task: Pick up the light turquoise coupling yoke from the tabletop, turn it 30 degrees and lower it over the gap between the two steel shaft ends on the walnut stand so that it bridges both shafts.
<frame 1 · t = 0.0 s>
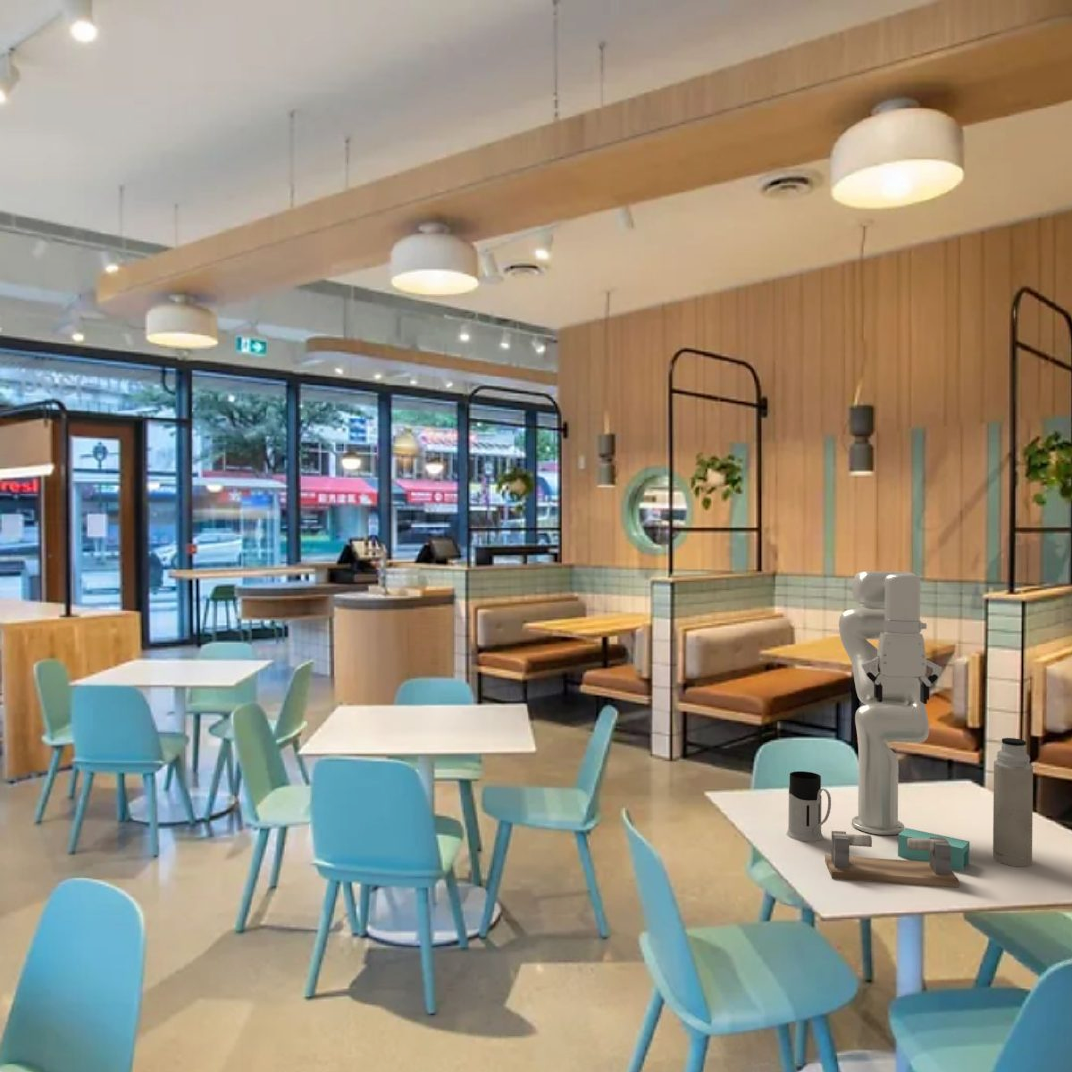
hand: (901, 702, 203), 37 cm above the table, tool pointing down, fingers open, 9 cm apart
shaft stand: (889, 873, 196), on the table
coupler: (933, 860, 205), on the table
glass holder: (811, 839, 218), on the table
thermos bottle: (1012, 861, 205), on the table
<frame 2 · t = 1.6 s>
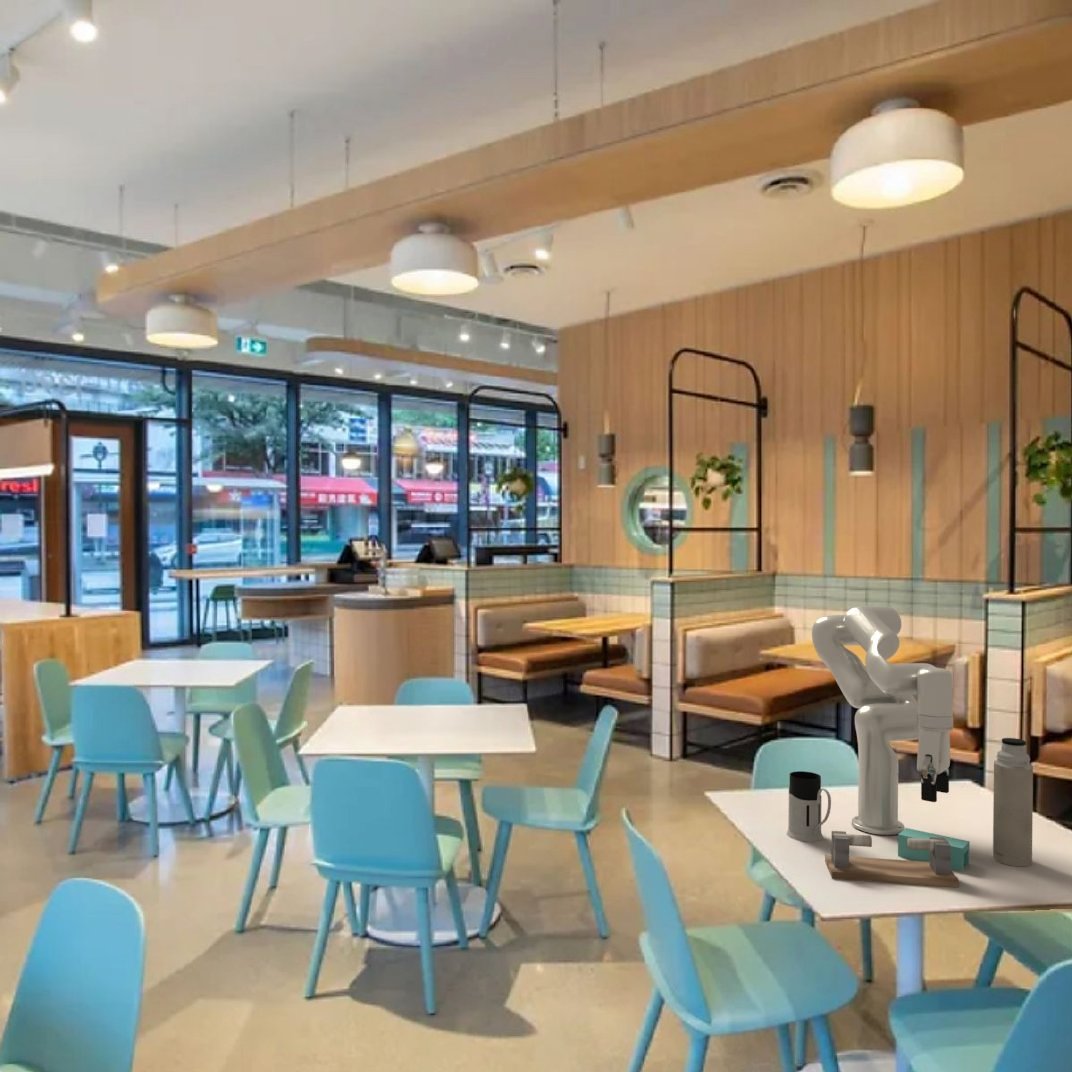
hand: (935, 796, 204), 15 cm above the table, tool pointing down, fingers open, 9 cm apart
nothing on the table moved.
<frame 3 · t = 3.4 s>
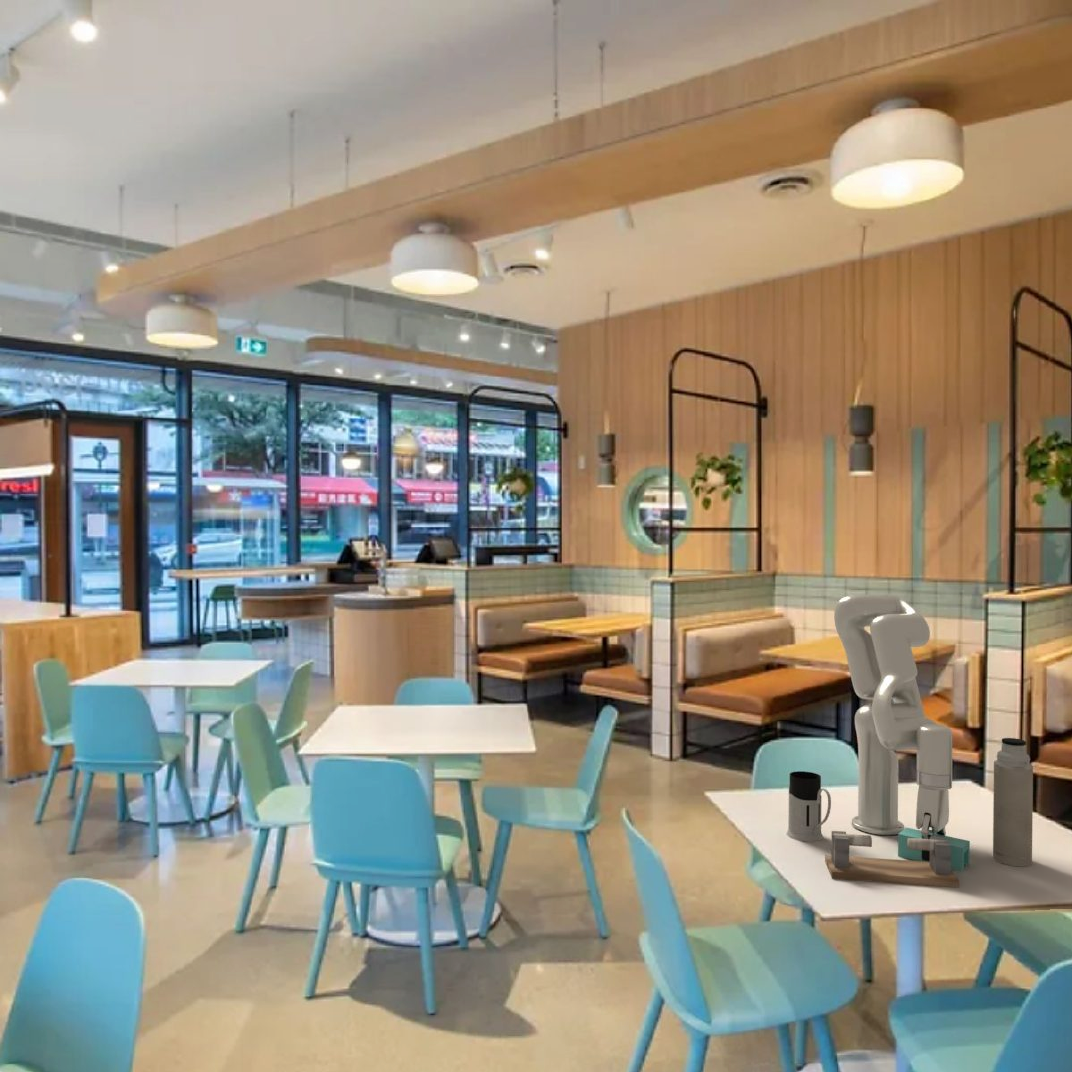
hand: (933, 856, 205), 1 cm above the table, tool pointing down, fingers closed on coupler, 6 cm apart
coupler: (933, 859, 205), on the table, touching gripper
everything else where it was.
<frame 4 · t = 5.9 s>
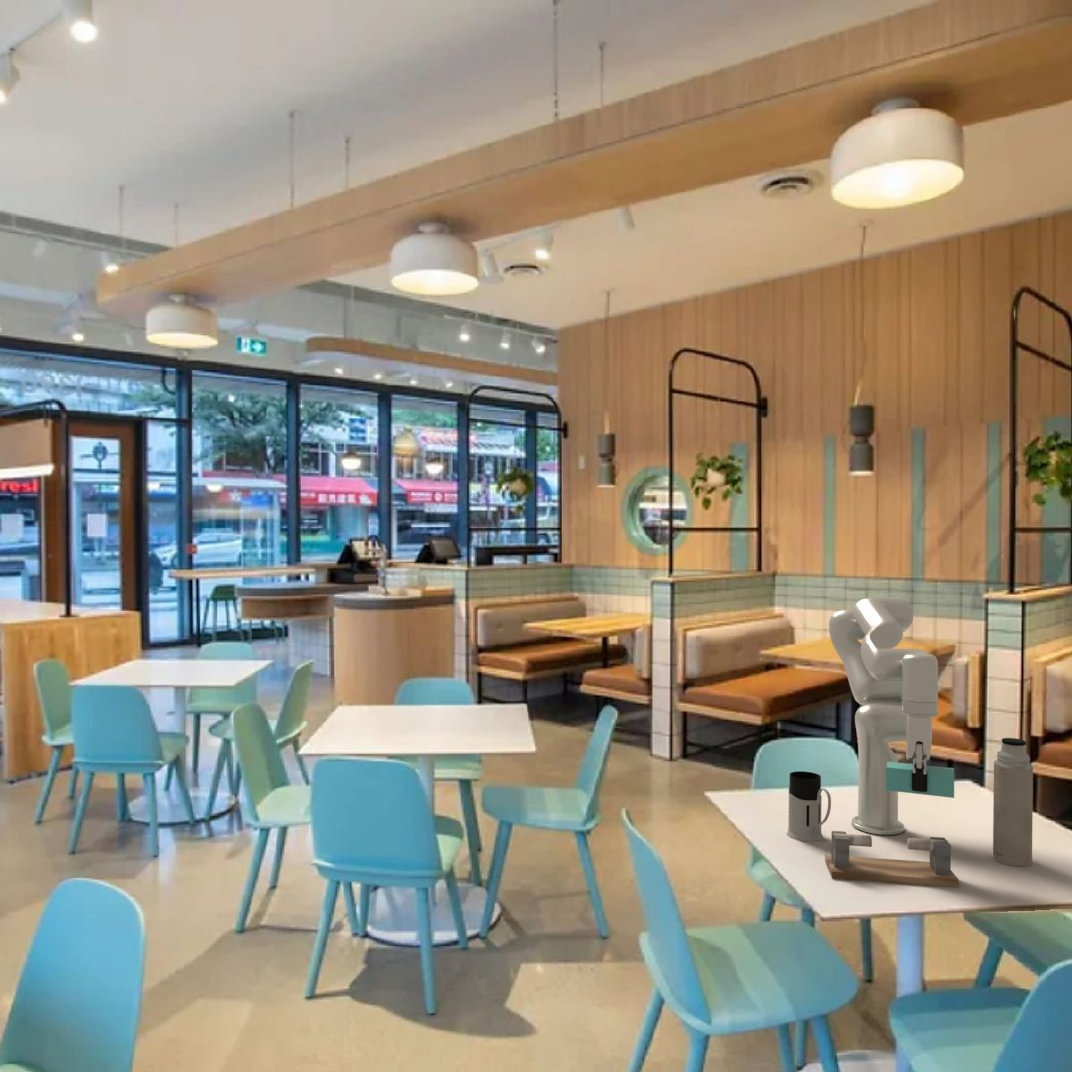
hand: (919, 786, 201), 18 cm above the table, tool pointing down, fingers closed on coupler, 6 cm apart
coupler: (919, 790, 201), point 17 cm above the table, touching gripper
everything else where it was.
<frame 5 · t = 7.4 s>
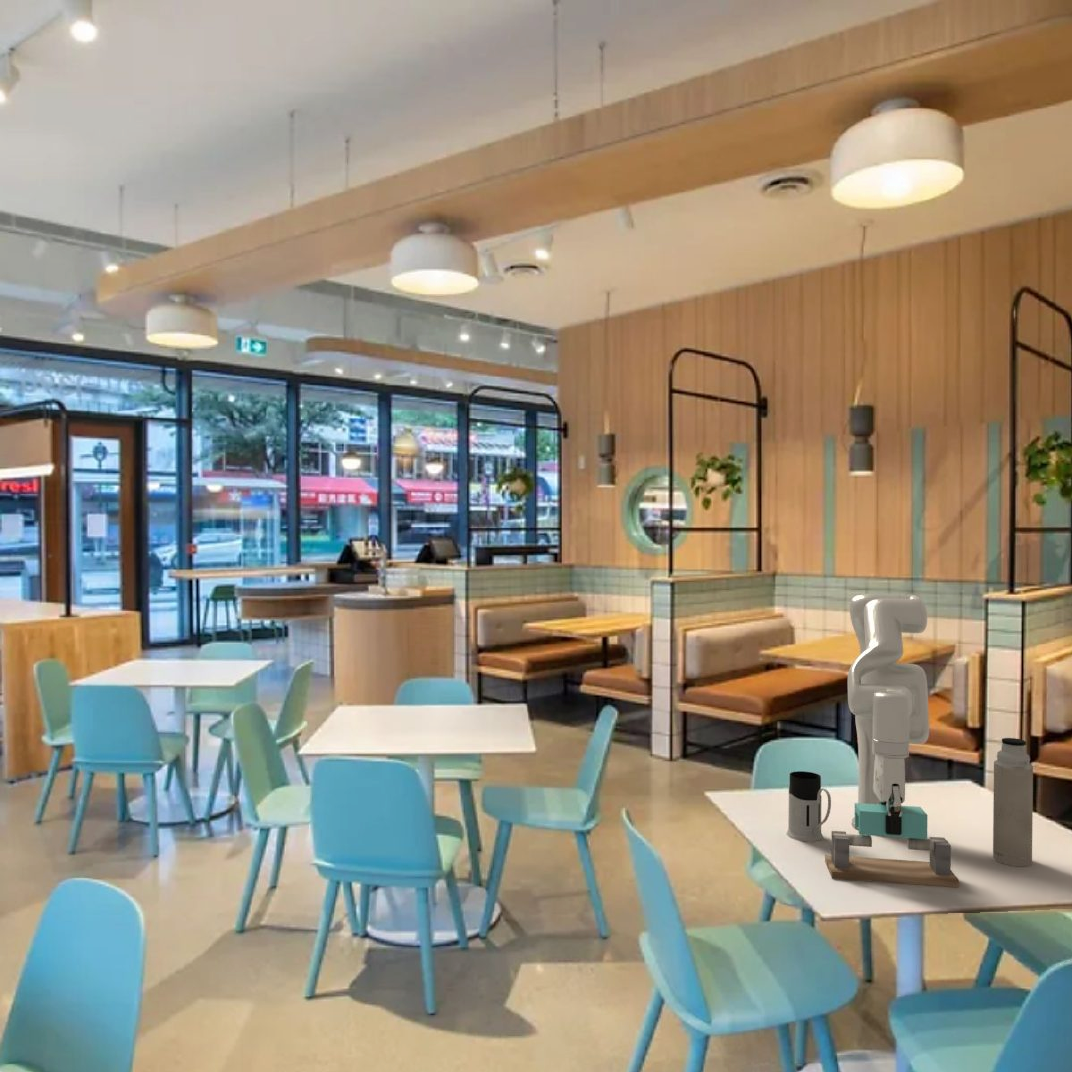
hand: (889, 828, 196), 10 cm above the table, tool pointing down, fingers closed on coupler, 6 cm apart
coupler: (890, 832, 196), point 9 cm above the table, touching gripper
everything else where it was.
when the fingers open (7 cm above the table, at t = 8.6 s): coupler drops 1 cm, resting on shaft stand.
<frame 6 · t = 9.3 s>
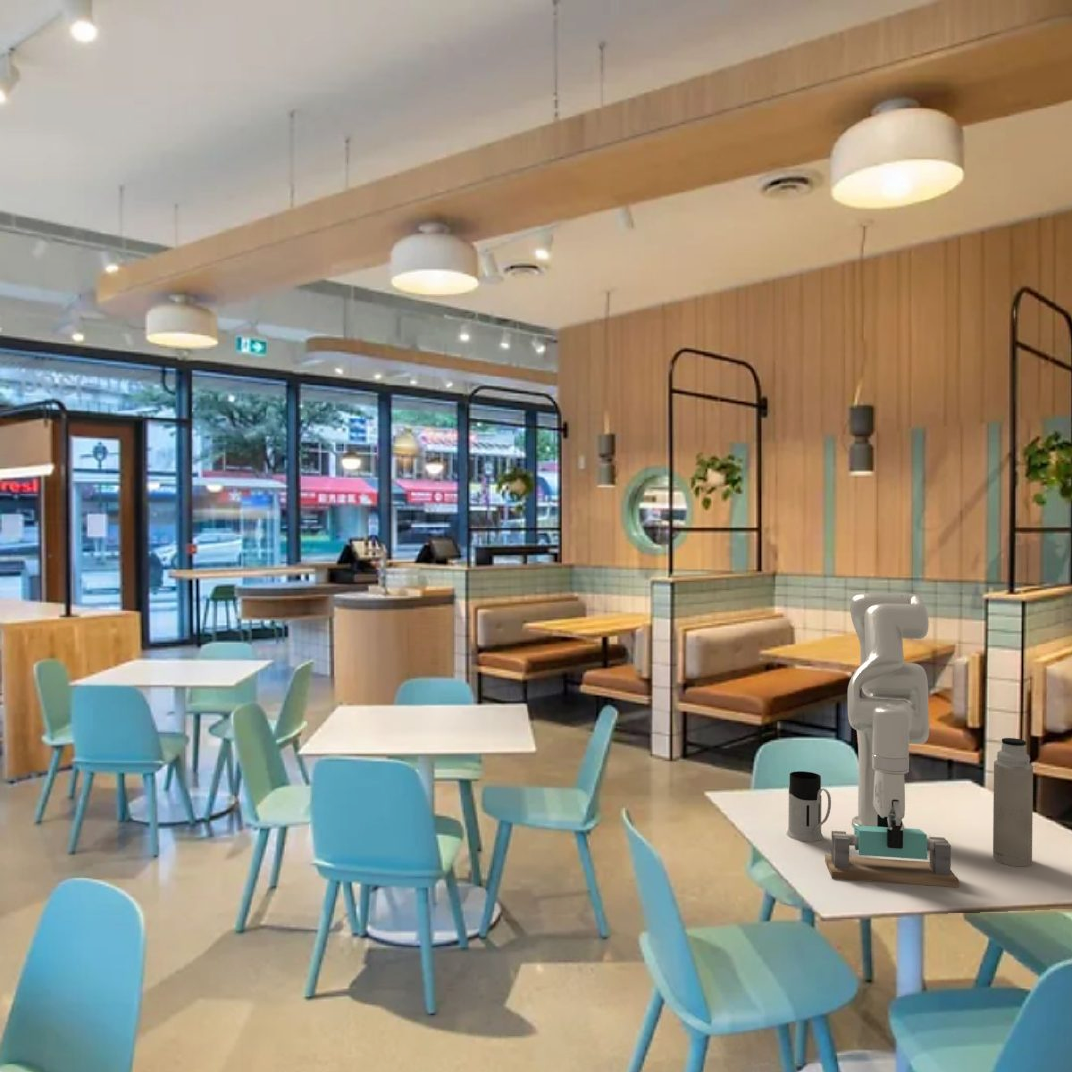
hand: (889, 840, 196), 8 cm above the table, tool pointing down, fingers open, 9 cm apart
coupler: (890, 854, 195), point 5 cm above the table, tilted 7°, touching shaft stand
everything else where it was.
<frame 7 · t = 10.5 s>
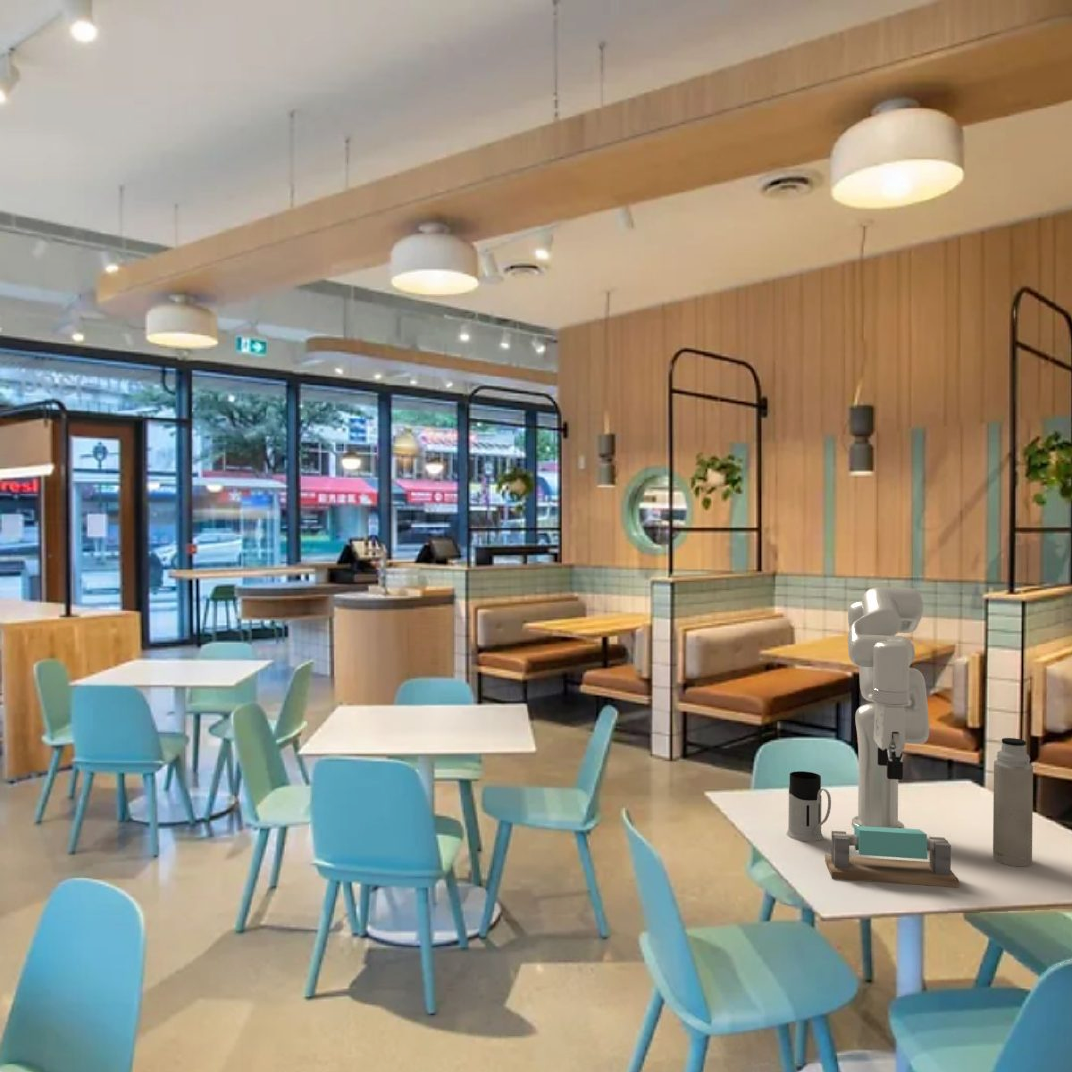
hand: (889, 771, 199), 22 cm above the table, tool pointing down, fingers open, 9 cm apart
nothing on the table moved.
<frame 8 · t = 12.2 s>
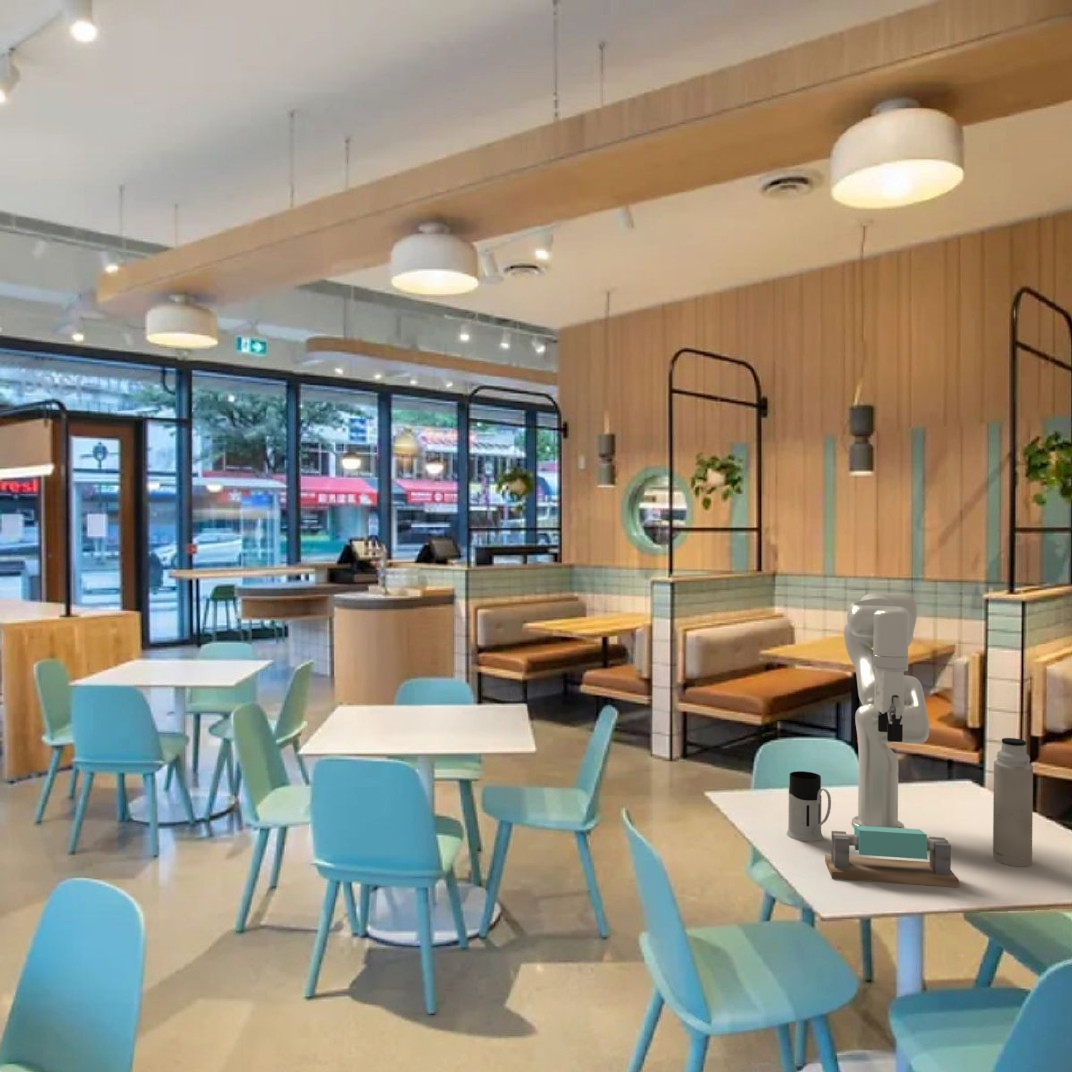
hand: (889, 736, 205), 28 cm above the table, tool pointing down, fingers open, 9 cm apart
nothing on the table moved.
at the end: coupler 0.1 cm off-centre on the shaft stand, point 4.5 cm above the shaft stand's base; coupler tilted 3°; the gripper is holding nothing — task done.
